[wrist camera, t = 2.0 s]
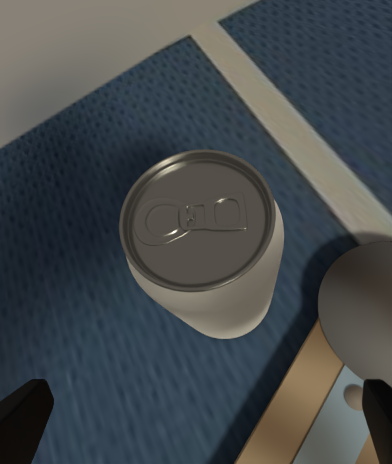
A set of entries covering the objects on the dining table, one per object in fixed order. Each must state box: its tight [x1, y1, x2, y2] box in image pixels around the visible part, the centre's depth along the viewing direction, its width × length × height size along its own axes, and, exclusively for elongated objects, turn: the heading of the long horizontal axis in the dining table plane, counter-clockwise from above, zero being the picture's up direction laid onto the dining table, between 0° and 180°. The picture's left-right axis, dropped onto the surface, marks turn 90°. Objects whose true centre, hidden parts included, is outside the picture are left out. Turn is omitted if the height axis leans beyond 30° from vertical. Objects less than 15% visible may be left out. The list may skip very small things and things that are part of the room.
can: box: [119, 150, 284, 339], centre depth 16 cm, size 6×6×12 cm
